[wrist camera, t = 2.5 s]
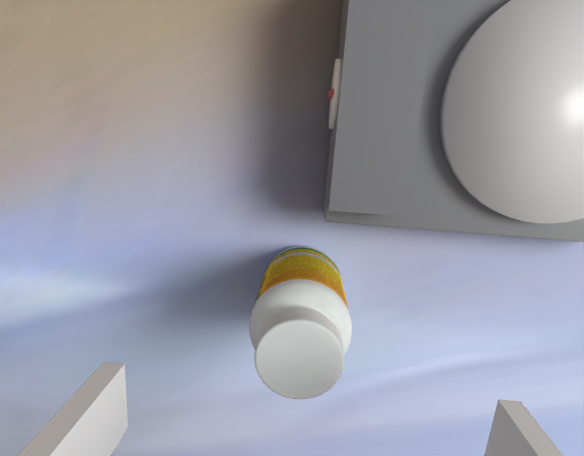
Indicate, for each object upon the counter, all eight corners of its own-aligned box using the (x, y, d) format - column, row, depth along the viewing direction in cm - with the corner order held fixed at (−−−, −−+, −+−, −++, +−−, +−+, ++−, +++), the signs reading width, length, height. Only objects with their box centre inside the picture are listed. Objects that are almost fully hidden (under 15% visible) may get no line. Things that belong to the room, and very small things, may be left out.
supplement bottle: (346, 309, 26) (368, 406, 17) (272, 321, 26) (253, 421, 17) (333, 237, 25) (350, 297, 15) (256, 250, 25) (226, 317, 16)
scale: (316, 210, 24) (318, 228, 20) (337, -31, 21) (346, -79, 16) (599, 232, 24) (670, 256, 19) (668, -10, 20) (775, -53, 16)
